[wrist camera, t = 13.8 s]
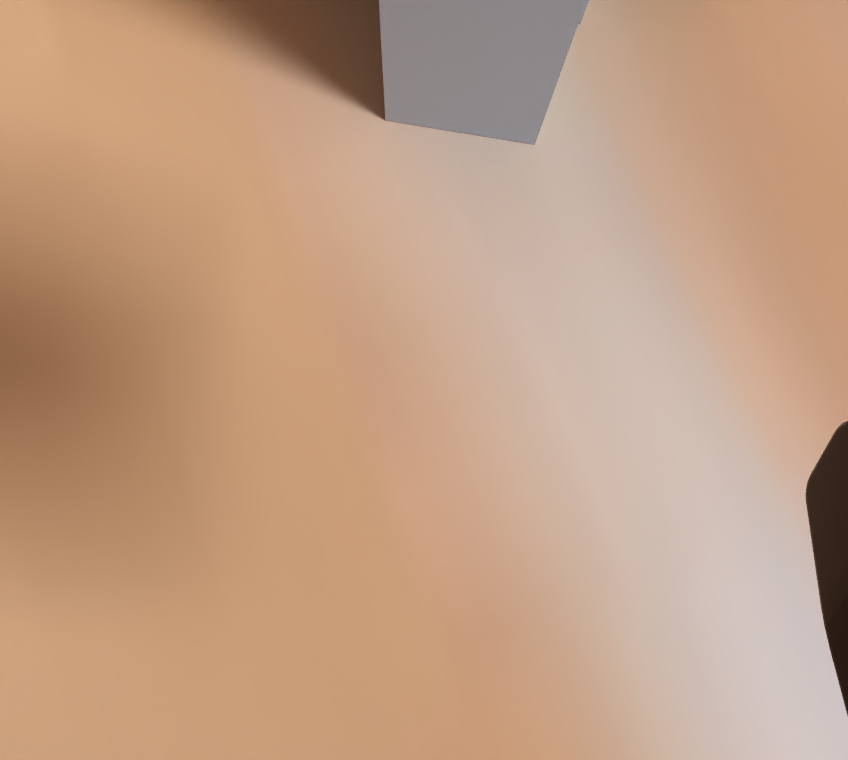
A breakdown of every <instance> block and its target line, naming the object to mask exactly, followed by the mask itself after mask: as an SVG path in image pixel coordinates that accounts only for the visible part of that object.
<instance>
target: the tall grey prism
mask: <svg viewBox="0 0 848 760" xmlns="http://www.w3.org/2000/svg"><path fill="white" fill-rule="evenodd" d="M587 3H588V0H379V11H380V30H381V49H382V67H383V86H384V105H385V120H387V121H393V122H400V123H406V124H412V125H418V126H424V127H430V128H436V129H442V130H448V131H455V132H461V133H467V134H473V135H479V136H485V137H491V138H497V139H503V140H510V141H516V142H522V143H528V144H534V145H535V142H536V139H537V137H538V134H539V131H540V128H541V126H542V123H543V120H544V117H545V114H546V112H547V109H548V106H549V103H550V100H551V98H552V95H553V92H554V89H555V86H556V84H557V81H558V78H559V75H560V72H561V70H562V67H563V64H564V61H565V58H566V56H567V53H568V50H569V47H570V45H571V42H572V39H573V36H574V33H575V31H576V28H577V25H578V24H580V22H581V20H582V17H583V14H584V11H585V9H586V6H587Z"/></svg>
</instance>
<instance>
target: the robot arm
mask: <svg viewBox="0 0 848 760" xmlns="http://www.w3.org/2000/svg"><path fill="white" fill-rule="evenodd" d="M806 504H807V511H808V518H809V525H810V532H811V539H812V546H813V553H814V560H815V567H816V574H817V581H818V588H819V595H820V602H821V609H822V614H823V620H824V625H825V630H826V634H827V638H828V642H829V647H830V651H831V654H832V658H833V662H834V666H835V670H836V673H837V677H838V681H839V685H840V688H841V692H842V696H843V700H844V704H845V707H846V711H847V715H848V421H847V422H844V423H842V424H841V425H840V426H839V427H838V428H837V430H836V431H835V433H834V434H833V436H832V438H831V440H830V441H829V443H828V445H827V447H826V448H825V450H824V452H823V454H822V455H821V457H820V459H819V461H818V462H817V464H816V466H815V468H814V470H813V471H812V473H811V475H810V477H809V480H808V483H807V488H806Z"/></svg>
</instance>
